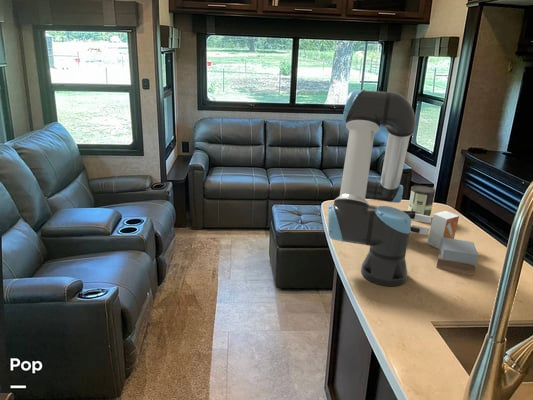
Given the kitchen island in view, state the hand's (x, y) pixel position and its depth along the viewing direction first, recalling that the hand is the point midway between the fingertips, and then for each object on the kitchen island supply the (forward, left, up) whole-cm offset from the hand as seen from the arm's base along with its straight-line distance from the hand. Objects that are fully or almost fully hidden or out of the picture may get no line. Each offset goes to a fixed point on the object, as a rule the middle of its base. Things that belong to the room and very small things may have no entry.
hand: (430, 225), depth 168 cm
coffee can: (+25, +6, -7) cm, 27 cm away
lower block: (-16, -11, -7) cm, 21 cm away
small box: (-1, -5, -7) cm, 9 cm away
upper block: (-16, -11, -3) cm, 19 cm away
